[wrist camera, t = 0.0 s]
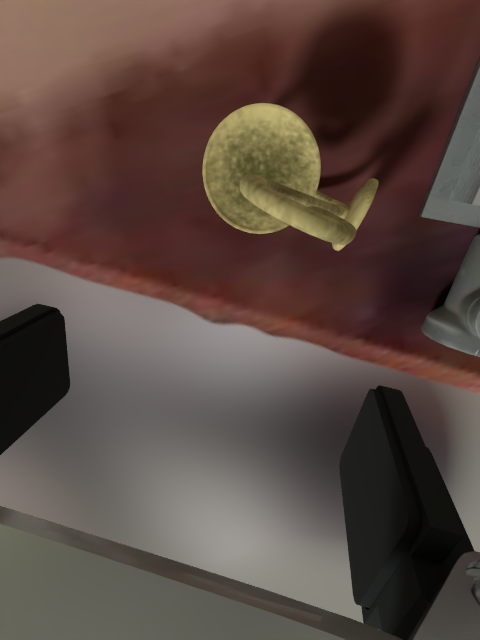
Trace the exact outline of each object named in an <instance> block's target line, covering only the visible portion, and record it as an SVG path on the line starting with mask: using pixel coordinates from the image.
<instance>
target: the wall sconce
mask: <svg viewBox="0 0 480 640" xmlns="http://www.w3.org/2000/svg"><path fill="white" fill-rule="evenodd" d="M320 171H321V162H320V154H319V149H318V146H317V143H316V140H315V138H314V136H313V134H312V132H311V130H310V129H309V127H308V126H307V124H306V123H305V122H304V121H303V120H302V119H301V118H300V117H299V116H297V115H296V114H295V113H294V112H292V111H290V110H289V109H287V108H284V107H282V106H279V105H275V104H271V103H257V104H251V105H247V106H244V107H242V108H240V109H238V110H236V111H234V112H233V113H231V114H230V115H228V116H227V117H226V118H225V119H224V120H223V121H222V122H221V123H220V124H219V125H218V126H217V128H216V129H215V131H214V132H213V134H212V136H211V138H210V139H209V142H208V144H207V147H206V150H205V154H204V160H203V181H204V186H205V190H206V193H207V196H208V198H209V200H210V202H211V204H212V206H213V207H214V209H215V210H216V212H217V213H218V214H219V215H220V216H221V217H222V218H223V219H224V220H225V221H226V222H227V223H229V224H230V225H232V226H233V227H235V228H237V229H239V230H242V231H245V232H249V233H256V234H265V233H272V232H275V231H279V230H281V229H283V228H285V227H287V226H289V225H291V226H293V227H295V228H297V229H299V230H301V231H304V232H306V233H308V234H310V235H313V236H315V237H318V238H320V239H322V240H325V241H328V242H331V243H332V246H333V248H334V249H335V250H337V251H339V250H341V249H342V248H343V247H344V246H345V245H346V244H348V243H350V242H351V241H352V240H353V239H354V238H355V235H356V230H357V229H358V227H359V225H360V224H361V222H362V220H363V219H364V217H365V215H366V213H367V211H368V209H369V207H370V205H371V203H372V201H373V199H374V196H375V194H376V191H377V188H378V180H376V179H374V178H371V179H369V180H367V181H366V182H365V183H364V184H363V185H362V186H361V188H360V189H359V190H358V191H357V193H356V194H355V196H354V197H353V199H352V200H351V202H350V203H349V205H348V206H347V205H345V204H343V203H341V202H339V201H337V200H334V199H332V198H330V197H328V196H326V195H324V194H322V193H320V192H318V191H317V188H318V184H319V179H320Z"/></svg>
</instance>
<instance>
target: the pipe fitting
mask: <svg viewBox="0 0 480 640" xmlns="http://www.w3.org/2000/svg"><path fill="white" fill-rule="evenodd" d="M421 330H422V332H423V333H424V334H425V335H426V336H428V337H430V338H431V339H433V340H435V341H437V342H439V343H441V344H443V345H445V346H448V347H450V348H453V349H456V350H459V351H462V352H465V353H468V354H471V355H475V356H478V357H480V234H479V235H477V236H475V237H474V238H473V240H472V242H471V244H470V246H469V248H468V250H467V252H466V255H465V257H464V259H463V262H462V264H461V266H460V268H459V271H458V273H457V275H456V278H455V280H454V282H453V284H452V287H451V289H450V291H449V293H448V296H447V298H446V300H445V303H444V304H443V305H442V306H441V307H439V308H437V309H435V310H433V311H431V312H430V313H428V314H427V316H426V318H425V320H424V322H423V325H422V327H421Z"/></svg>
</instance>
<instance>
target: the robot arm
mask: <svg viewBox="0 0 480 640" xmlns="http://www.w3.org/2000/svg"><path fill="white" fill-rule="evenodd" d="M69 388H70V377H69V367H68V354H67V343H66V332H65V320H64V316H63V315H62V314H61V313H60V311H59V310H58V309H57V308H54V307H50V306H46V305H41V304H36V305H33V306H31V307H29V308H27V309H25V310H23V311H21V312H19V313H17V314H14V315H12V316H10V317H8V318H6V319H4V320H2V321H0V455H1V454H2V453H3V452H4V451H5V450H6V449H8V448H9V446H11V445H12V444H13V443H14V442H15V441H16V440H17V439H18V438H19V437H20V436H22V435H23V434H24V433H25V432H26V431H27V430H28V429H29V428H30V427H31V426H32V425H34V424H35V423H36V422H37V421H38V420H39V419H40V418H41V417H42V416H43V415H45V414H46V413H47V412H48V411H49V410H50V409H51V408H52V407H53V406H54V405H55V404H56V403H58V402H59V401H60V400H61V399H62V398H63V397H64V396H65V395H66V394H67V392H68V390H69ZM340 478H341V487H342V496H343V505H344V514H345V523H346V533H347V542H348V551H349V561H350V569H351V579H352V589H353V596H354V601H355V603H356V604H357V605H360V606H362V614H363V622H364V624H363V623H361V622H358V621H356V620H353V619H350V618H347V617H344V616H341V615H338V614H336V613H333V612H330V611H326V610H324V609H321V608H318V607H315V606H312V605H309V604H306V603H303V602H300V601H297V600H294V599H291V598H288V597H285V596H283V595H279V594H277V593H273V592H271V591H268V590H265V589H262V588H258V587H255V586H252V585H249V584H246V583H243V582H240V581H237V580H234V579H230V578H227V577H224V576H221V575H218V574H215V573H211V572H208V571H205V570H202V569H199V568H196V567H193V566H189V565H187V564H183V563H180V562H177V561H174V560H171V559H168V558H164V557H161V556H158V555H155V554H152V553H149V552H146V551H142V550H139V549H136V548H133V547H130V546H127V545H124V544H120V543H117V542H114V541H111V540H107V539H104V538H101V537H98V536H95V535H92V534H88V533H85V532H82V531H79V530H76V529H72V528H69V527H66V526H63V525H60V524H57V523H53V522H50V521H47V520H44V519H40V518H37V517H34V516H31V515H28V514H24V513H21V512H18V511H15V510H12V509H8V508H5V507H2V506H0V640H480V552H476V551H474V549H473V546H472V544H471V542H470V540H469V537H468V535H467V533H466V531H465V528H464V526H463V524H462V521H461V519H460V517H459V515H458V512H457V510H456V508H455V506H454V503H453V501H452V499H451V497H450V494H449V492H448V490H447V487H446V485H445V483H444V481H443V478H442V476H441V474H440V472H439V469H438V467H437V465H436V463H435V460H434V458H433V456H432V454H431V452H430V450H429V449H428V448H427V447H426V446H425V444H424V442H423V439H422V437H421V435H420V432H419V430H418V428H417V426H416V423H415V421H414V418H413V416H412V414H411V411H410V409H409V407H408V405H407V402H406V400H405V398H404V395H403V393H402V392H401V391H400V390H396V389H392V388H388V387H384V386H378V387H377V388H376V389H375V390H374V389H370V390H369V391H368V393H367V396H366V398H365V400H364V403H363V405H362V407H361V410H360V412H359V415H358V417H357V420H356V422H355V424H354V427H353V429H352V431H351V434H350V436H349V439H348V441H347V443H346V446H345V448H344V451H343V453H342V455H341V459H340ZM378 629H379V630H378ZM381 630H382V631H381Z"/></svg>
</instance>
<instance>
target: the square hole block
mask: <svg viewBox="0 0 480 640" xmlns="http://www.w3.org/2000/svg"><path fill="white" fill-rule="evenodd" d="M418 216H421V217H426V218H431V219H436V220H442V221H447V222H452V223H458V224H463V225H469V226H474V227H479V228H480V57H479V59H478V62H477V64H476V67H475V70H474V72H473V75H472V77H471V80H470V83H469V85H468V88H467V90H466V93H465V95H464V98H463V101H462V103H461V106H460V108H459V111H458V114H457V116H456V119H455V121H454V124H453V126H452V129H451V132H450V134H449V137H448V139H447V142H446V145H445V147H444V150H443V152H442V155H441V157H440V160H439V163H438V165H437V168H436V170H435V173H434V176H433V178H432V181H431V183H430V186H429V188H428V191H427V194H426V196H425V199H424V201H423V204H422V207H421V209H420V212H419V214H418Z"/></svg>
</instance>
